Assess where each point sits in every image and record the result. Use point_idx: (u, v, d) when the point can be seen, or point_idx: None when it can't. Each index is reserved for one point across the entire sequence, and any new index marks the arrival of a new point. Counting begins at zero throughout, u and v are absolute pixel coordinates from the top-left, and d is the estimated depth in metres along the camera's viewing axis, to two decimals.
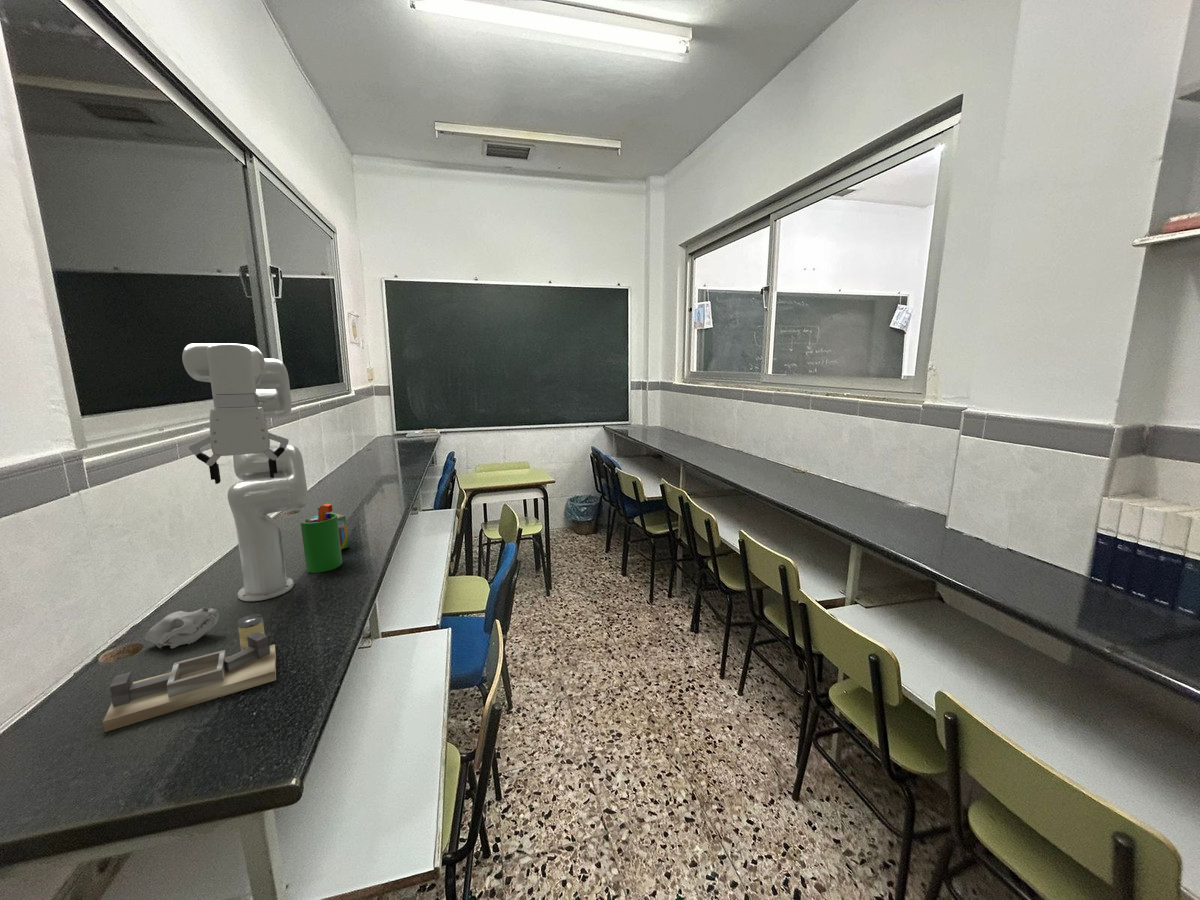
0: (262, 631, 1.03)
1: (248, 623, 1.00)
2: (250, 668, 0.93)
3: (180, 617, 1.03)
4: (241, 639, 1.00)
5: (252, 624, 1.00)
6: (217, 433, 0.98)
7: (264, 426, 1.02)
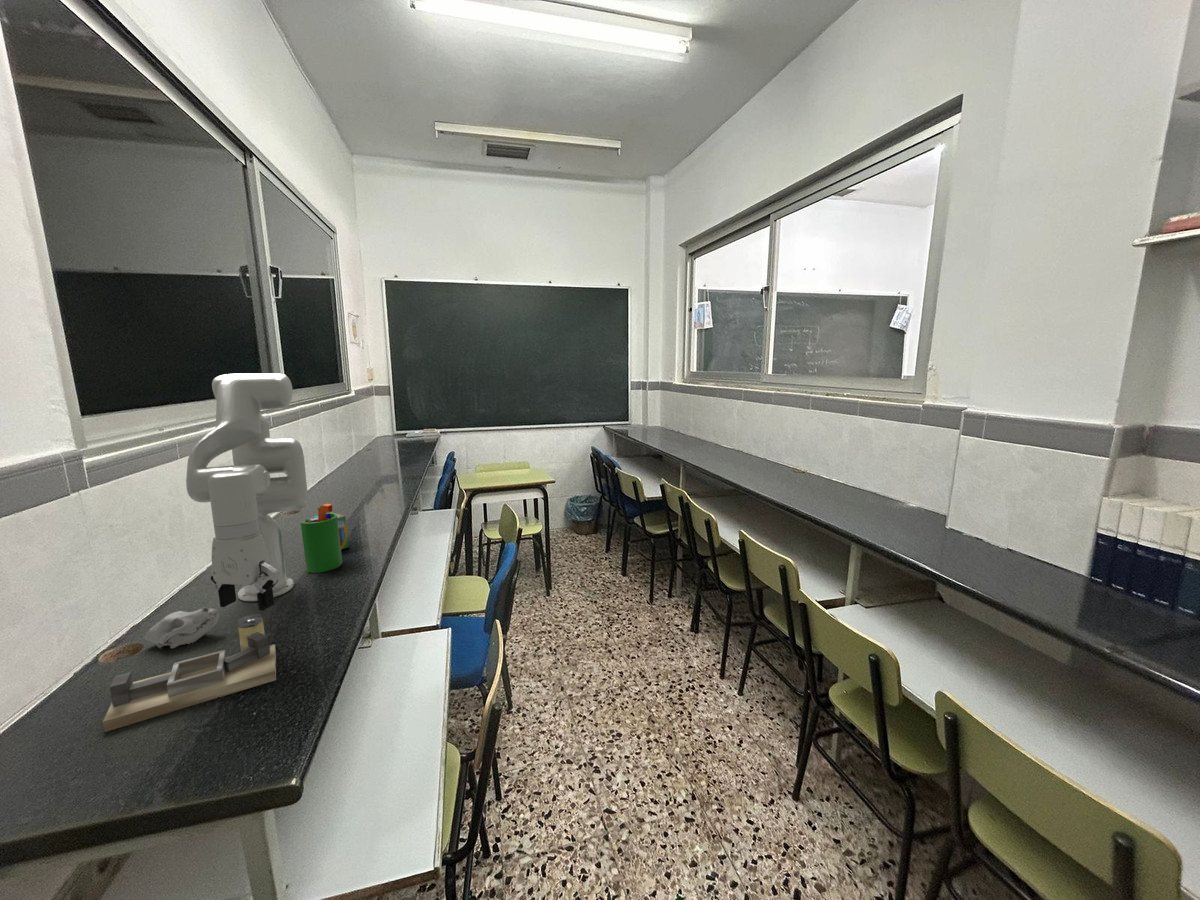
0: (262, 631, 1.03)
1: (248, 623, 1.00)
2: (250, 668, 0.93)
3: (180, 617, 1.03)
4: (241, 639, 1.00)
5: (252, 624, 1.00)
6: None
7: None
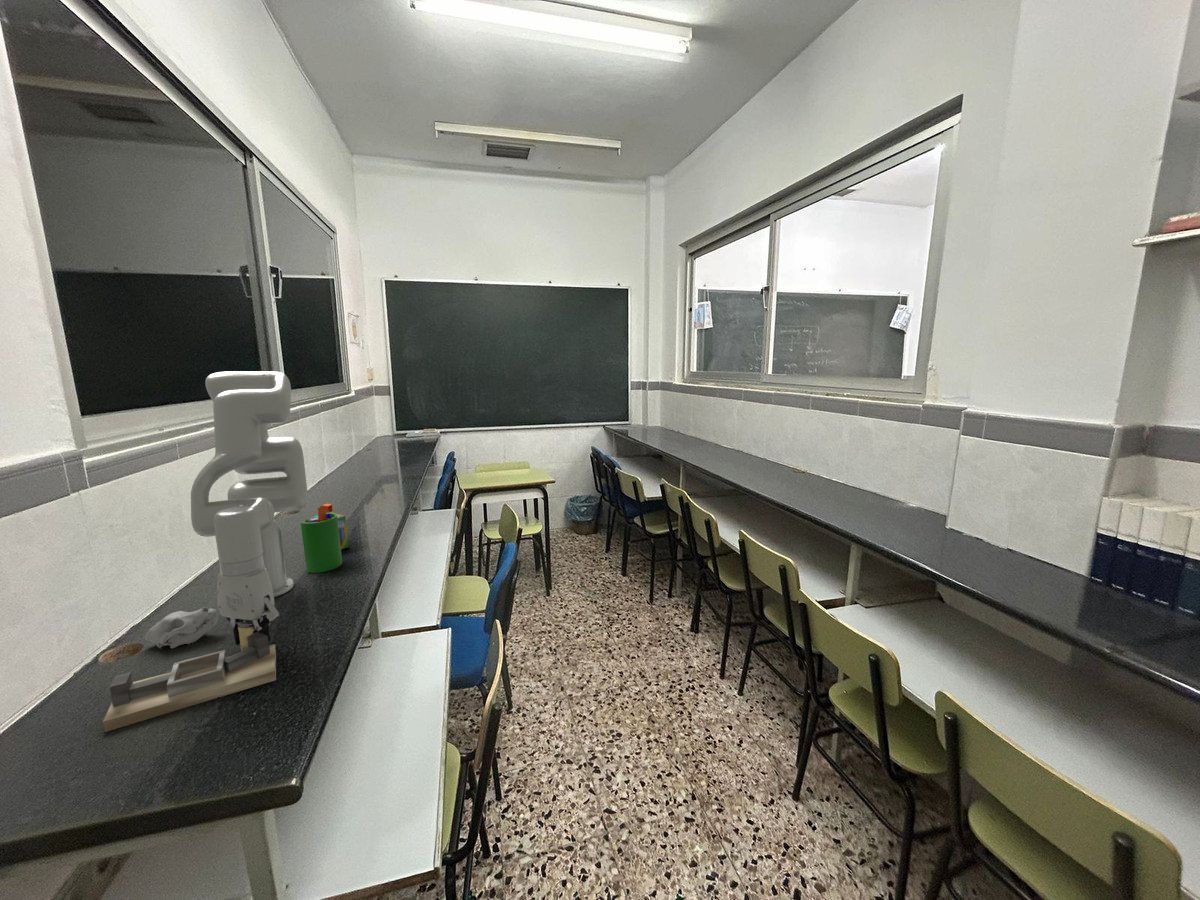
0: None
1: (248, 623, 1.00)
2: (250, 668, 0.93)
3: (180, 617, 1.03)
4: (241, 639, 1.00)
5: (252, 624, 1.00)
6: None
7: None
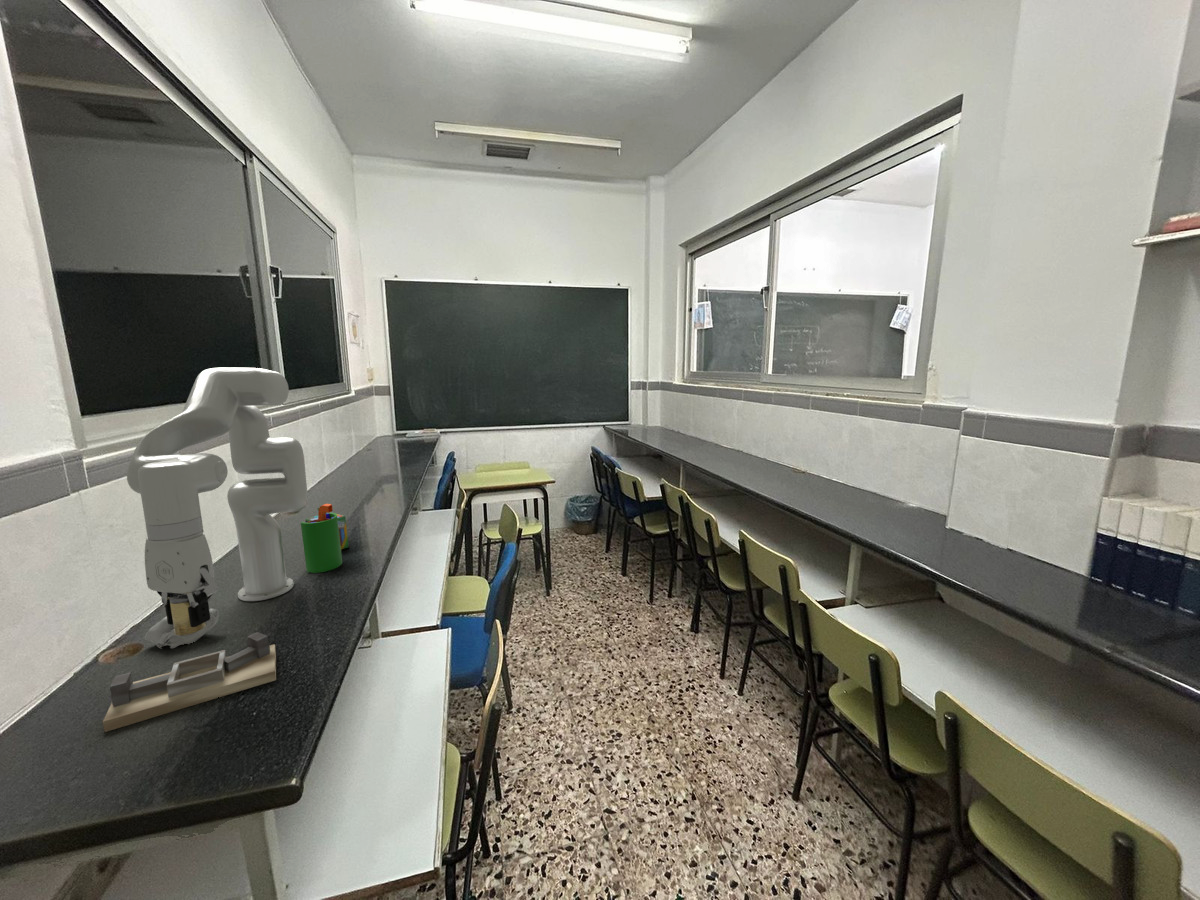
0: None
1: (181, 598, 0.85)
2: (250, 668, 0.93)
3: None
4: (173, 617, 0.85)
5: (187, 599, 0.85)
6: None
7: None
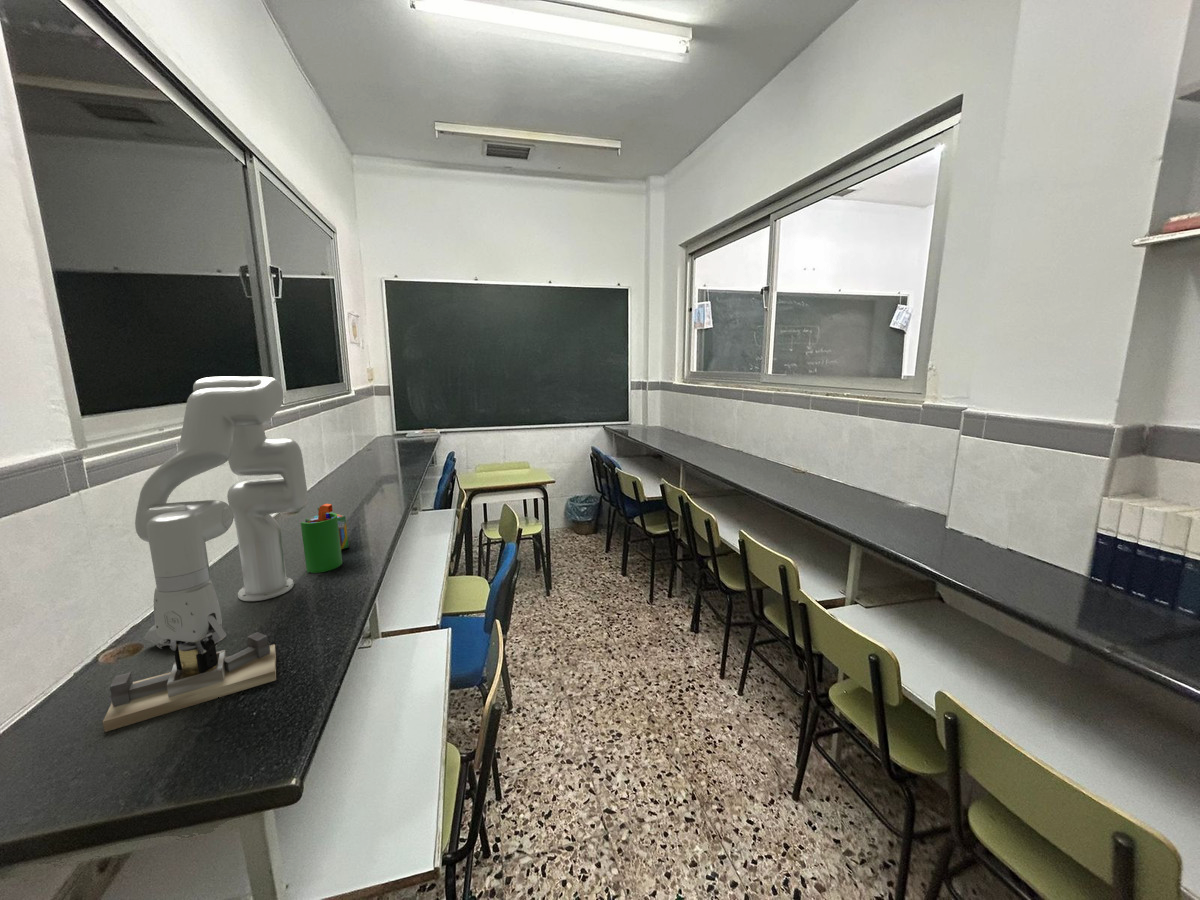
0: None
1: (190, 645, 0.87)
2: (250, 668, 0.93)
3: None
4: (182, 664, 0.87)
5: (195, 646, 0.87)
6: None
7: None
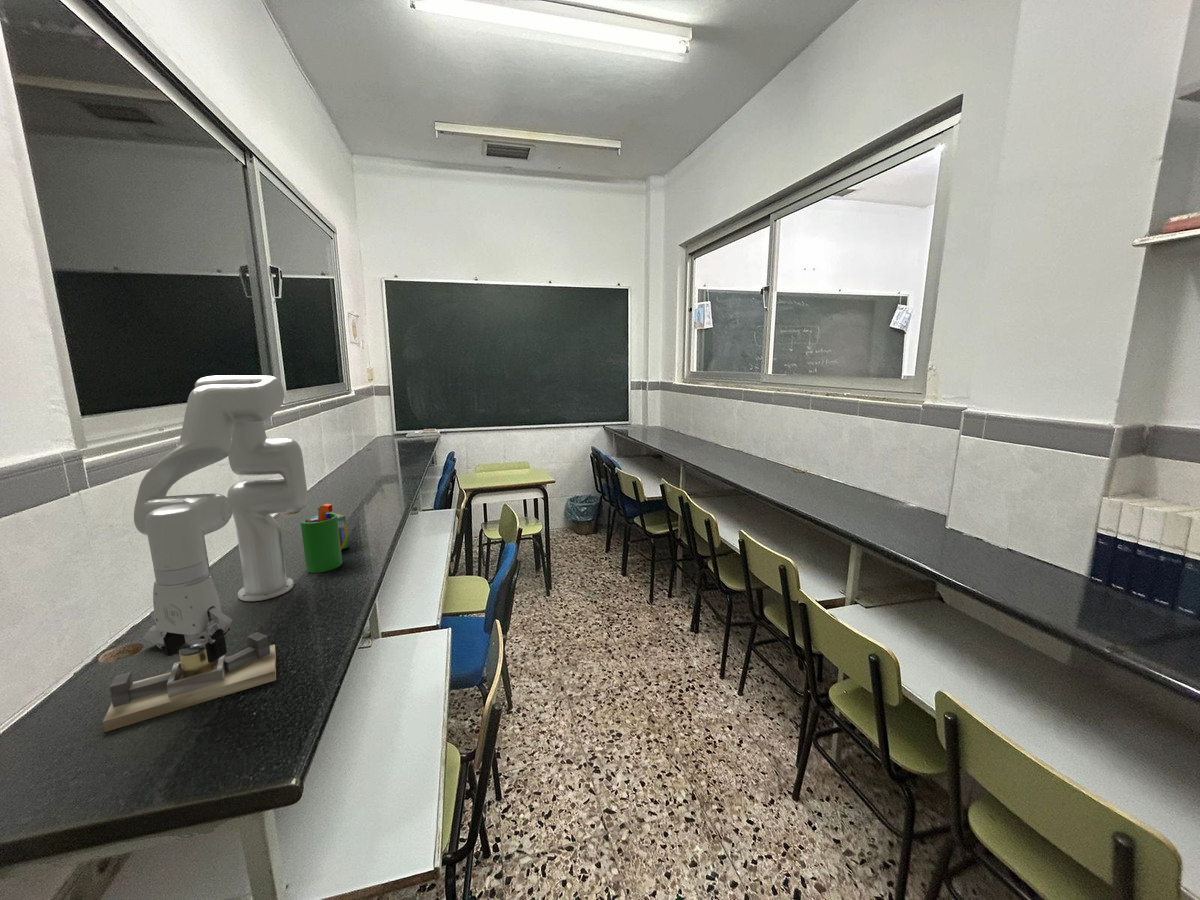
0: None
1: (191, 650, 0.87)
2: (250, 668, 0.93)
3: None
4: (183, 668, 0.87)
5: (196, 651, 0.87)
6: None
7: None
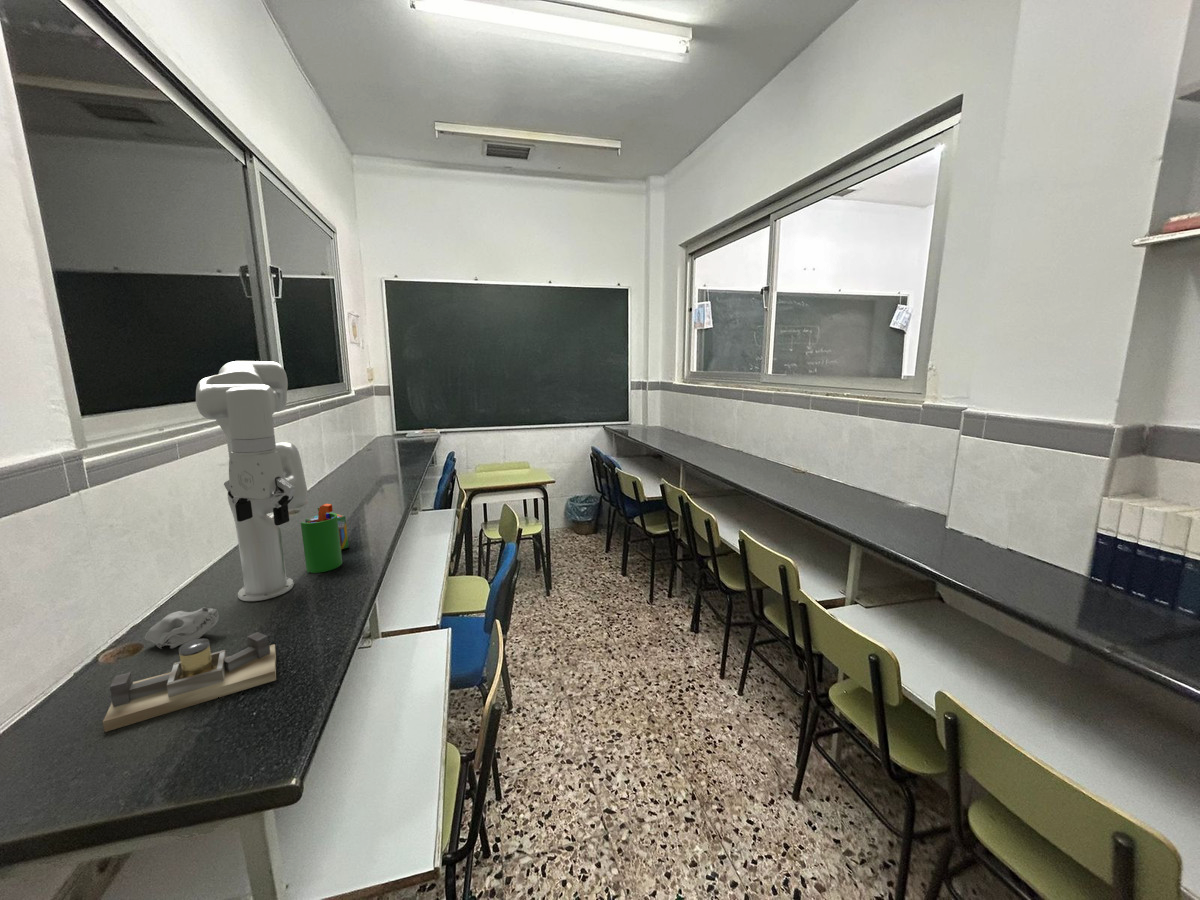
0: (209, 658, 0.90)
1: (191, 649, 0.87)
2: (250, 668, 0.93)
3: (180, 617, 1.04)
4: (183, 668, 0.87)
5: (196, 651, 0.87)
6: None
7: None
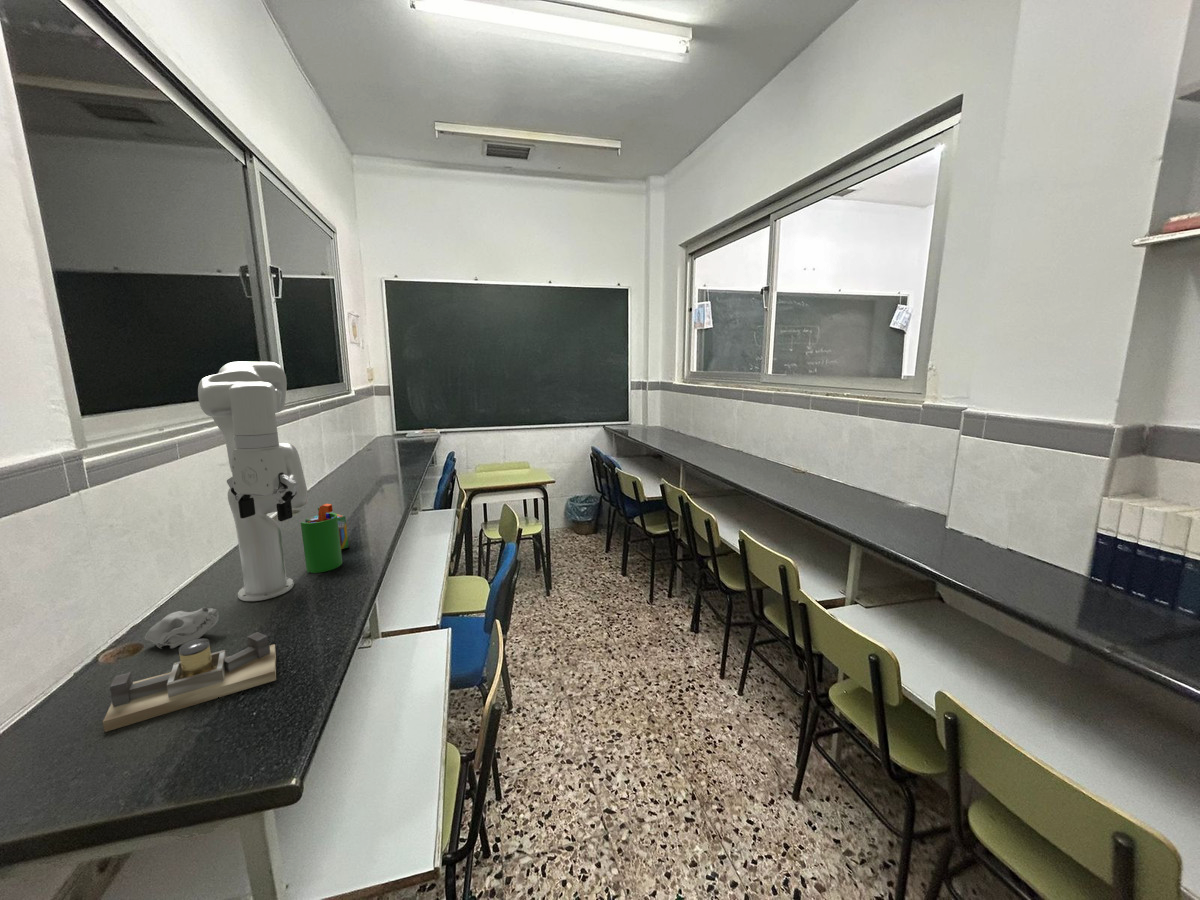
0: (209, 658, 0.90)
1: (191, 649, 0.87)
2: (250, 668, 0.93)
3: (180, 617, 1.04)
4: (183, 668, 0.87)
5: (196, 651, 0.87)
6: None
7: None
